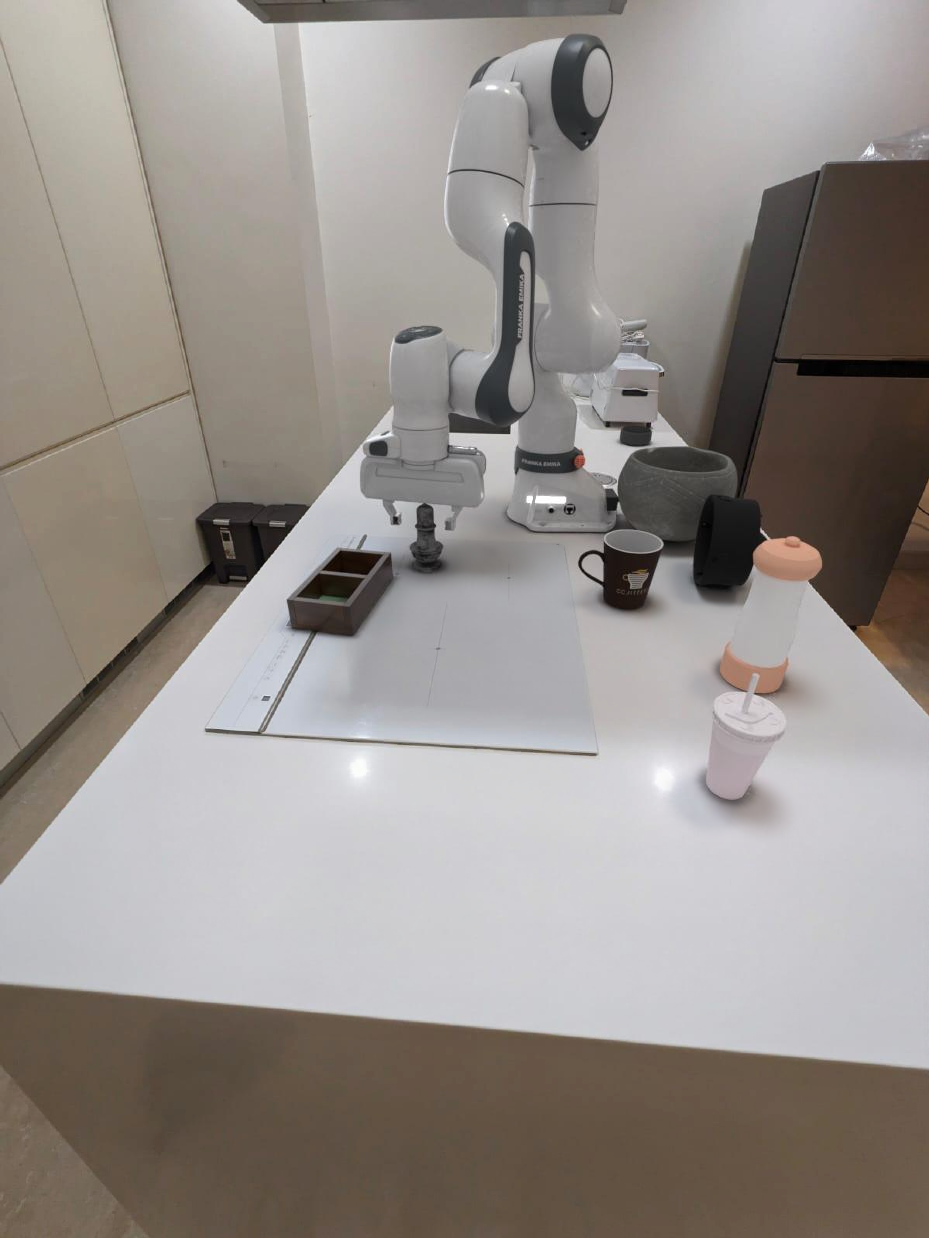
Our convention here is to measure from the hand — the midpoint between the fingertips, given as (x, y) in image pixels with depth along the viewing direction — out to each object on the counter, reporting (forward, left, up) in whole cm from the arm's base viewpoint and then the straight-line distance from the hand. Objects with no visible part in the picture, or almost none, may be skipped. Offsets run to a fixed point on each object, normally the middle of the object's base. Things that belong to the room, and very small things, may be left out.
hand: (423, 526), depth 97 cm
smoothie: (-43, +41, -8) cm, 60 cm away
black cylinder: (-50, -5, -8) cm, 51 cm away
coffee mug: (-32, +4, -8) cm, 33 cm away
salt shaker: (0, -1, -8) cm, 8 cm away
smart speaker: (-38, -92, -8) cm, 99 cm away
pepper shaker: (-49, +21, -8) cm, 54 cm away
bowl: (-42, -24, -8) cm, 49 cm away
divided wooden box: (+9, +14, -7) cm, 18 cm away
